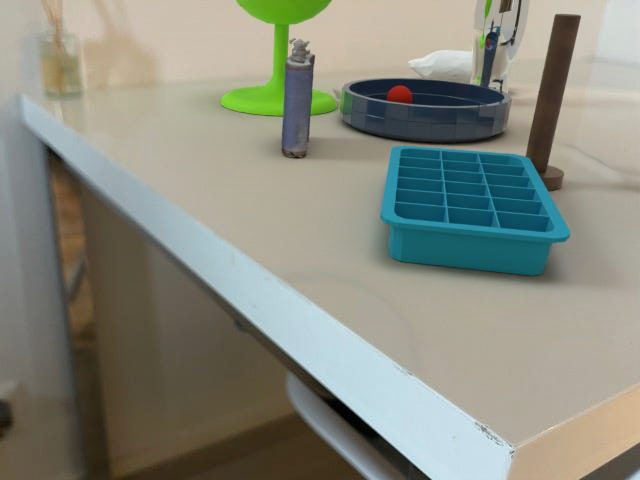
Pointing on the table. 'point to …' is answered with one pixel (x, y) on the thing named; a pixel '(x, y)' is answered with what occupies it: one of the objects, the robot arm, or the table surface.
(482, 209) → the ice cube tray
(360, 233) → the table surface
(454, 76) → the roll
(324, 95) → the wineglass
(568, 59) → the wooden towel stand
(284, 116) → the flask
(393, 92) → the cherry tomato
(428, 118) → the bowl
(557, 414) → the table surface
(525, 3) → the beer glass
